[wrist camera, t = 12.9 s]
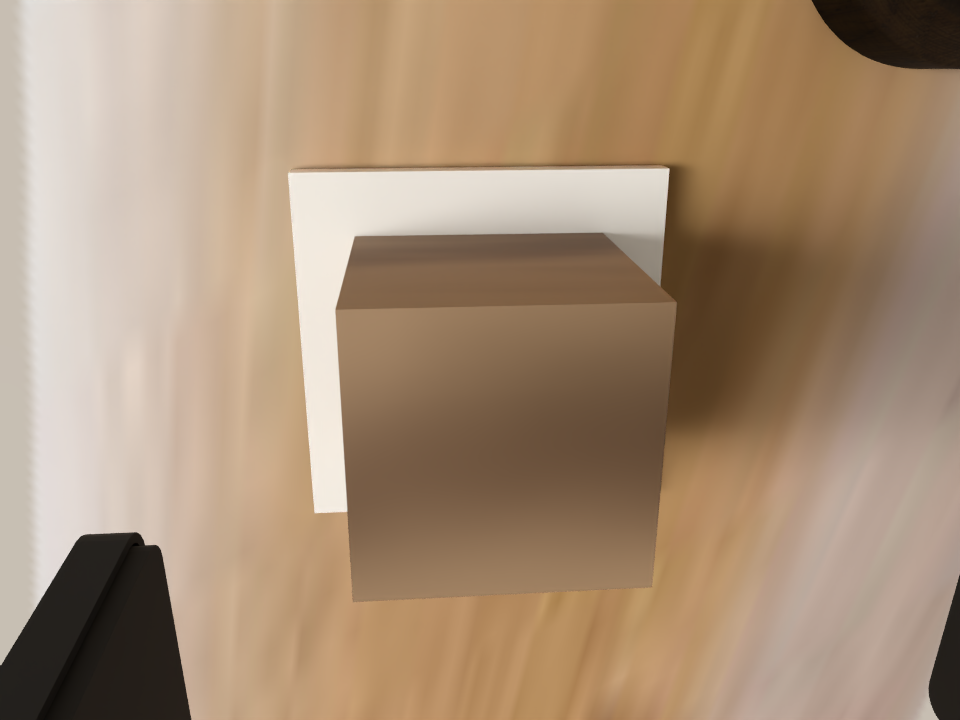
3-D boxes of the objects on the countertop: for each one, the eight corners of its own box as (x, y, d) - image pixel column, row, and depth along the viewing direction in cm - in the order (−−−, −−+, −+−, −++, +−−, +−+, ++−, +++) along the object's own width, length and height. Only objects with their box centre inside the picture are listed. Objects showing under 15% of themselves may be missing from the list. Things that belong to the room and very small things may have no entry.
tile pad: (291, 169, 20) (288, 172, 19) (662, 165, 21) (669, 168, 20) (316, 501, 23) (314, 513, 22) (637, 488, 24) (643, 499, 23)
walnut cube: (354, 236, 20) (335, 309, 14) (602, 232, 20) (676, 302, 15) (365, 461, 22) (352, 602, 16) (590, 453, 23) (651, 587, 17)
